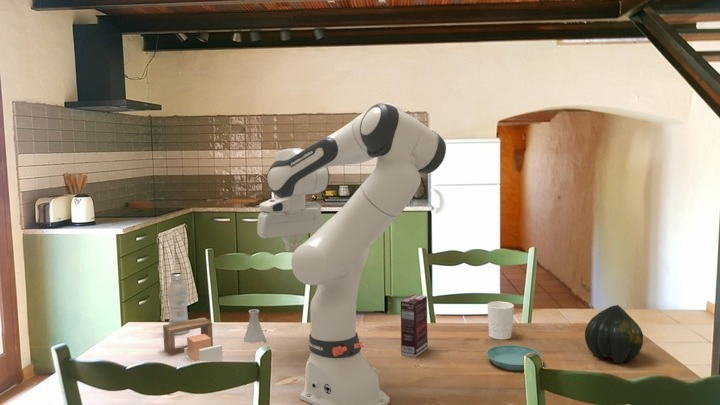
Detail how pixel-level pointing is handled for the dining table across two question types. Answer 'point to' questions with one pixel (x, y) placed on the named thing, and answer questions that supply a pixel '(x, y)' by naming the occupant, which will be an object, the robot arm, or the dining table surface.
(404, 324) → the supplement box
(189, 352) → the block
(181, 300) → the plastic bottle
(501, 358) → the saucer
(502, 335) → the white cup
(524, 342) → the dining table surface
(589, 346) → the squash
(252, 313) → the flask
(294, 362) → the dining table surface
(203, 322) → the tunnel
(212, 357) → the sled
